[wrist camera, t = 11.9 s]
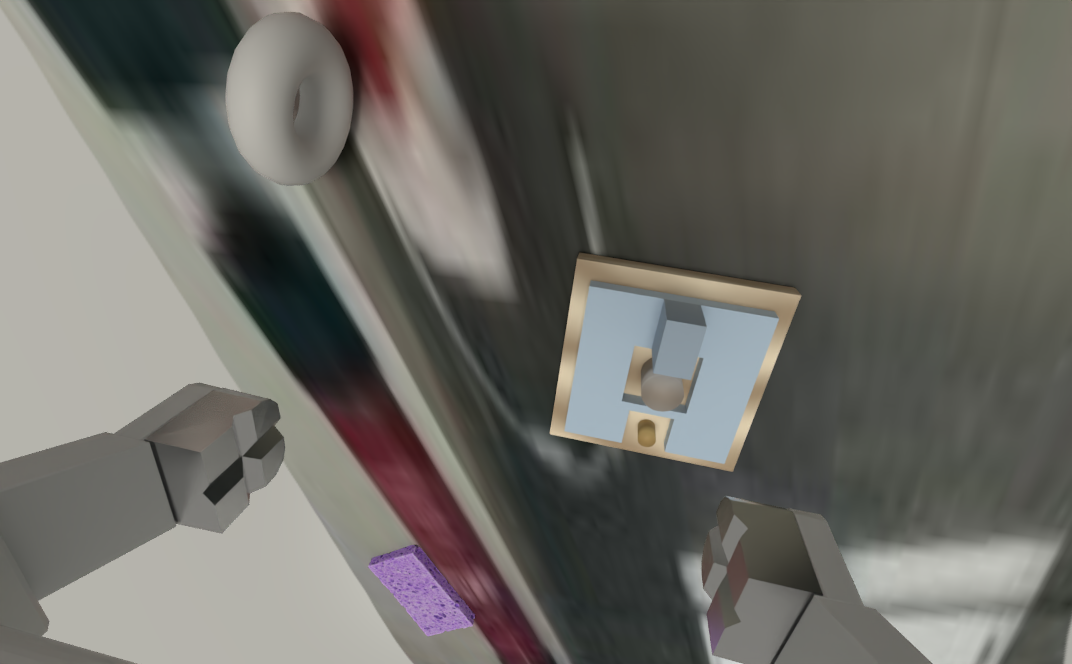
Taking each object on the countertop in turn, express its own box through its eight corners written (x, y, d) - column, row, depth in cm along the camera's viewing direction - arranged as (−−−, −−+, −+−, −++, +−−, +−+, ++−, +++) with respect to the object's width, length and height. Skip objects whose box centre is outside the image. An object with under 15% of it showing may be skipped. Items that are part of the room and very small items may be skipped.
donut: (320, 14, 33) (205, -11, 24) (369, 30, 33) (271, 10, 24) (313, 165, 38) (214, 190, 29) (355, 179, 38) (269, 208, 29)
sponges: (432, 622, 62) (427, 636, 60) (372, 553, 58) (364, 567, 56) (478, 612, 59) (473, 627, 57) (418, 539, 55) (412, 553, 54)
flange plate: (590, 280, 36) (584, 305, 32) (774, 311, 35) (793, 342, 31) (566, 422, 42) (558, 459, 38) (722, 454, 41) (731, 496, 36)
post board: (579, 252, 37) (572, 272, 33) (795, 287, 35) (815, 313, 31) (552, 423, 44) (544, 456, 40) (729, 459, 43) (739, 498, 39)
